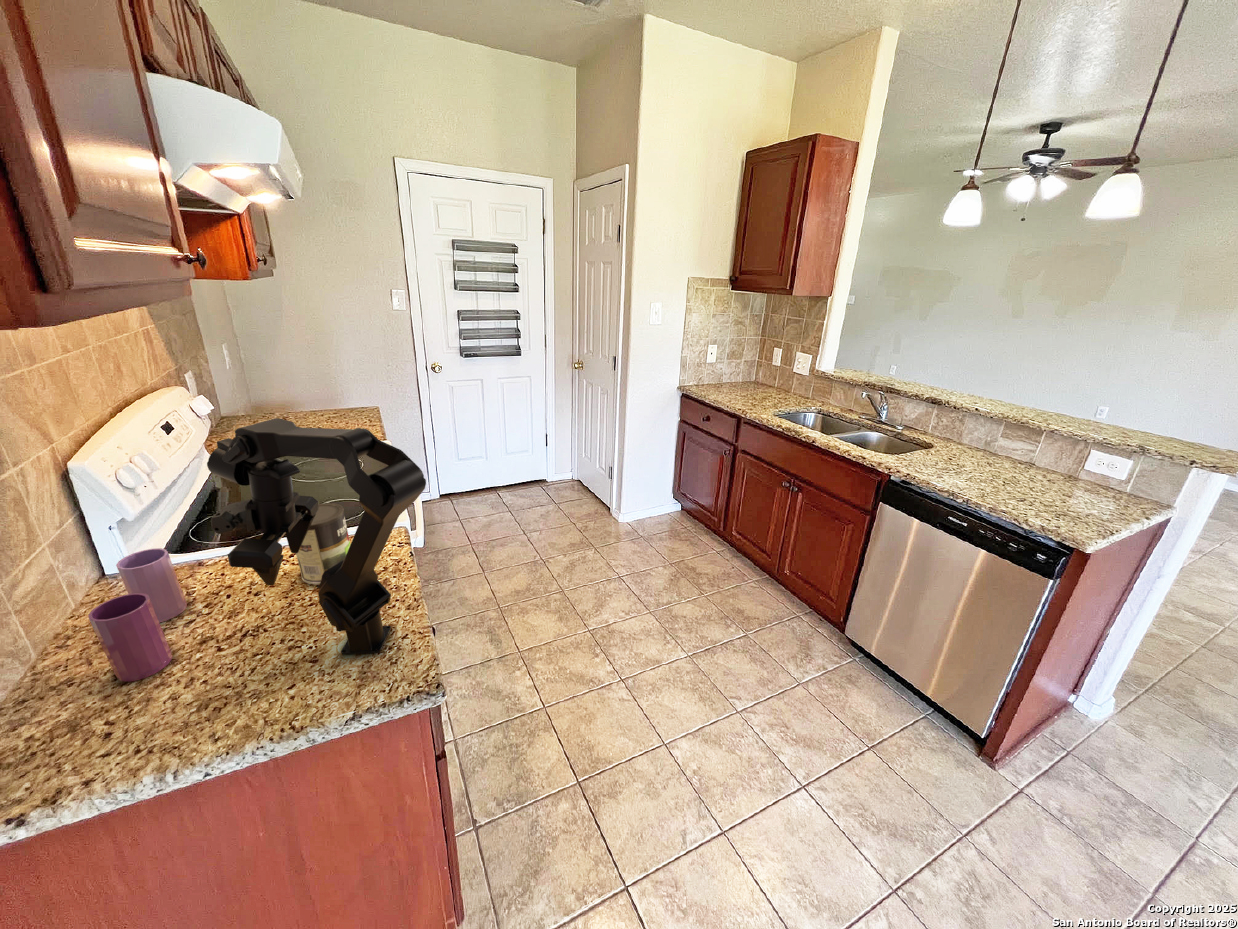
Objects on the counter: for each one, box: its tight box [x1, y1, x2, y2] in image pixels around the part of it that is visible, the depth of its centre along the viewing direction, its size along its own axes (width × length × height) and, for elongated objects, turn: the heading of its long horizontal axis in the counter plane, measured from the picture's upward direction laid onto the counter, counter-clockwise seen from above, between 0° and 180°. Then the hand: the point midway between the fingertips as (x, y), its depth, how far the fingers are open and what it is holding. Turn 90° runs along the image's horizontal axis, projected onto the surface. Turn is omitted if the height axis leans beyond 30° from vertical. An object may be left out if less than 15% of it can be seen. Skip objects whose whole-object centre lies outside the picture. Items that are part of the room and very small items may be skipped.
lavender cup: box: [115, 547, 188, 624], centre depth 91 cm, size 7×7×12 cm
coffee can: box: [295, 502, 351, 586], centre depth 104 cm, size 10×10×14 cm
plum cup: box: [87, 593, 173, 683], centre depth 78 cm, size 7×7×12 cm
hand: (283, 568), depth 88 cm, fingers open, 9 cm apart
